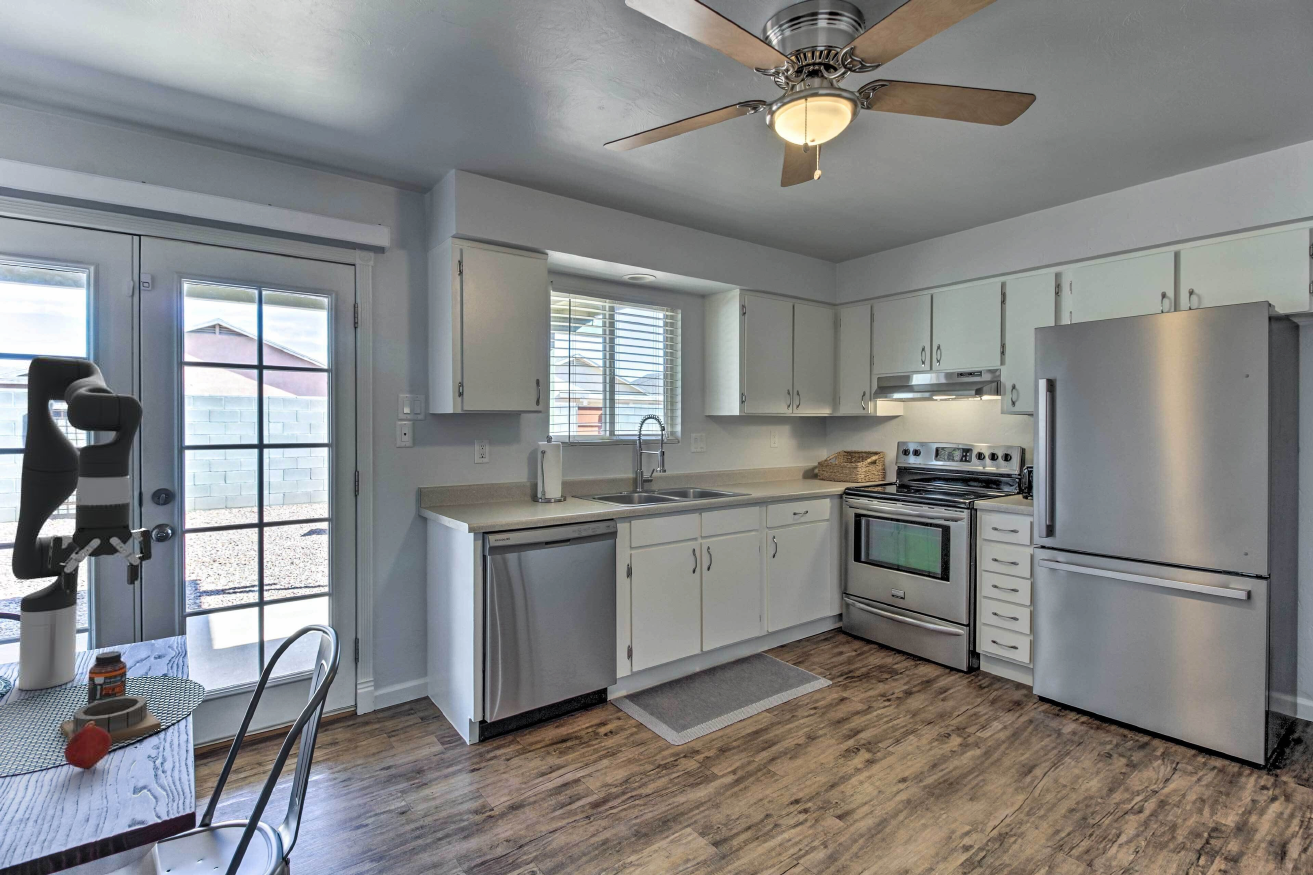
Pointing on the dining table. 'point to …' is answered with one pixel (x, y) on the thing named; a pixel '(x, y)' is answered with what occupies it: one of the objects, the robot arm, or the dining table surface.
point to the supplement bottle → (107, 677)
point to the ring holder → (114, 718)
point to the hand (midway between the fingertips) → (101, 588)
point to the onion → (88, 746)
